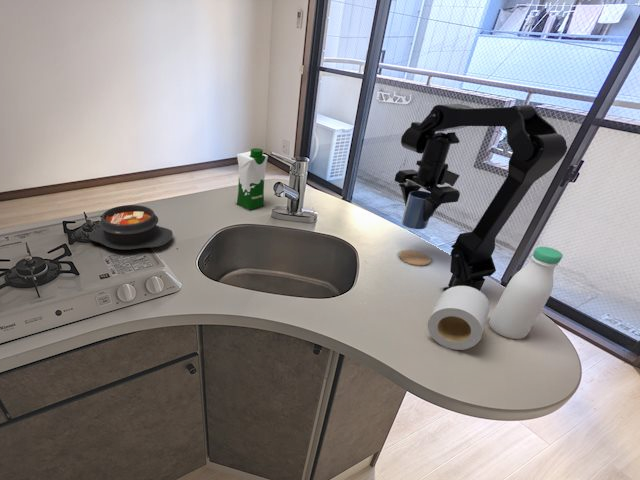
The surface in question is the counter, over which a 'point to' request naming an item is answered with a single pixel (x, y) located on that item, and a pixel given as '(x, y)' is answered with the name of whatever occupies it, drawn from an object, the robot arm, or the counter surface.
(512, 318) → the milk bottle
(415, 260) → the coaster
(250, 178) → the milk carton
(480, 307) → the toilet paper
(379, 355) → the counter surface
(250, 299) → the counter surface
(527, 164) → the robot arm
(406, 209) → the blue ceramic cup
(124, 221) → the casserole
